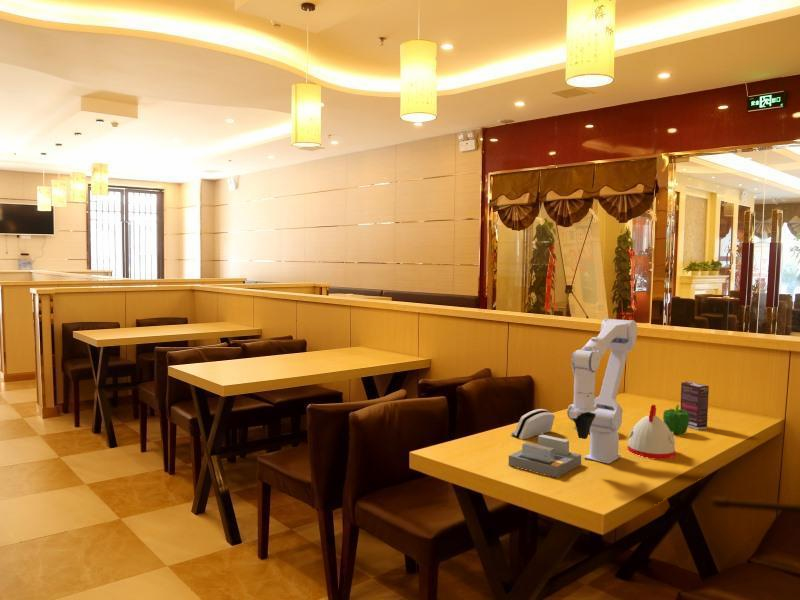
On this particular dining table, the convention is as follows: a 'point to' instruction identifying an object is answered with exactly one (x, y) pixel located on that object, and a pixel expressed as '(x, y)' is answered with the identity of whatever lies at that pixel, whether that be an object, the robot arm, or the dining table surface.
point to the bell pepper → (676, 420)
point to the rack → (562, 458)
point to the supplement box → (695, 404)
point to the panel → (538, 453)
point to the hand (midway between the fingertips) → (582, 438)
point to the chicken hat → (652, 438)
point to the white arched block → (534, 424)
